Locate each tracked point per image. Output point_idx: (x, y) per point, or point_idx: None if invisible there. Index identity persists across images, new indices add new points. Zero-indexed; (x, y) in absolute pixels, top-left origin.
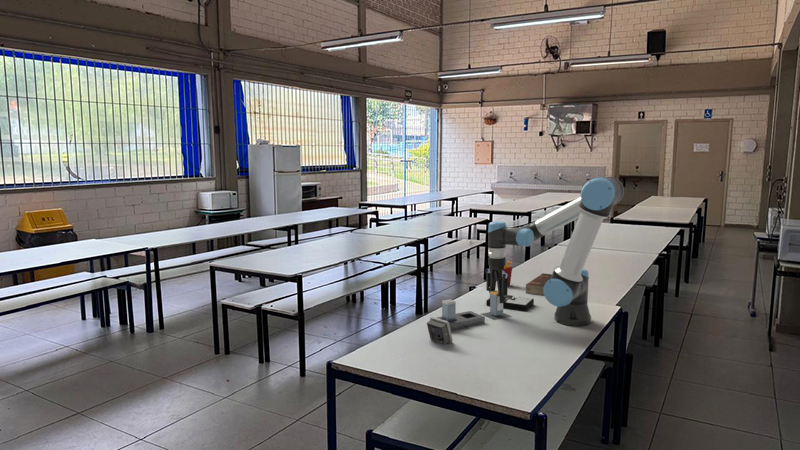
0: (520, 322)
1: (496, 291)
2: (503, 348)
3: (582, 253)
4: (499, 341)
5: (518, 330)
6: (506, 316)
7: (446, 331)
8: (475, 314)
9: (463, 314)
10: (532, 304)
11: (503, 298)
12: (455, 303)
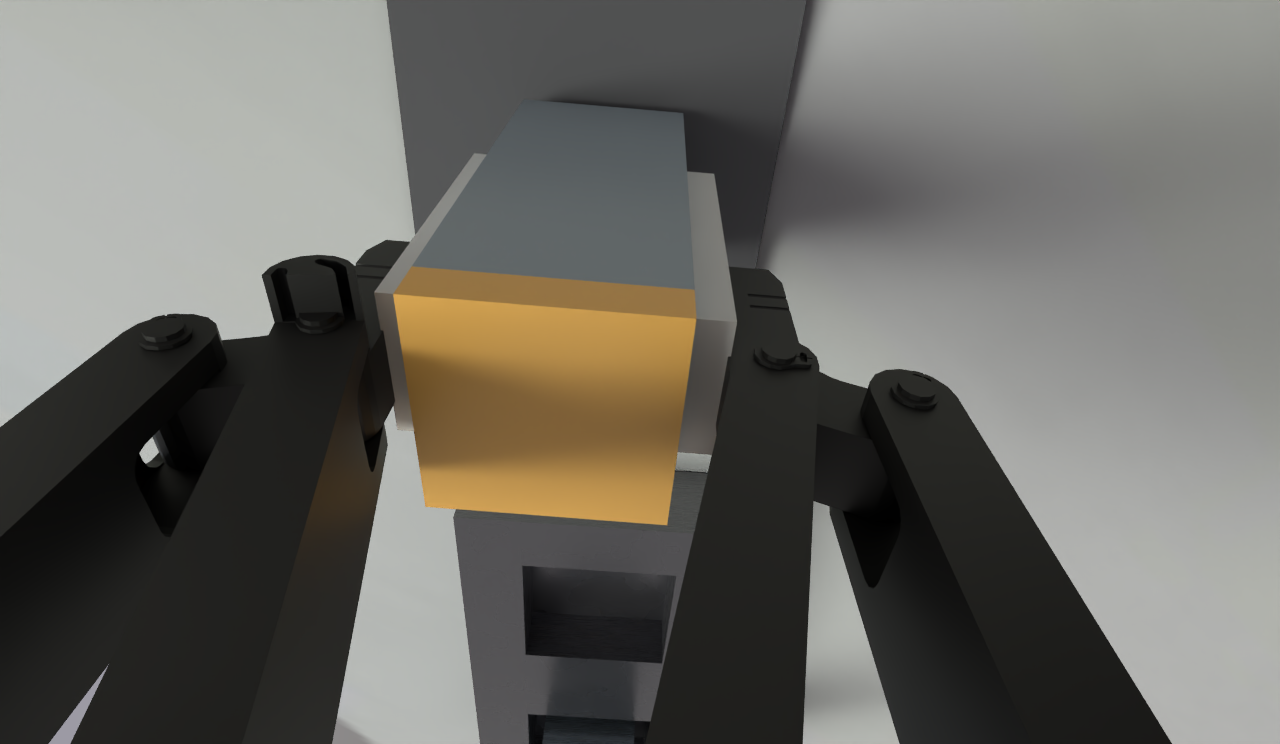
0: (1073, 88)
1: (491, 392)
2: (1238, 688)
3: None
4: (1142, 637)
5: (1192, 355)
6: (748, 88)
7: None
8: (606, 552)
9: (525, 618)
10: None
11: (791, 334)
12: None
